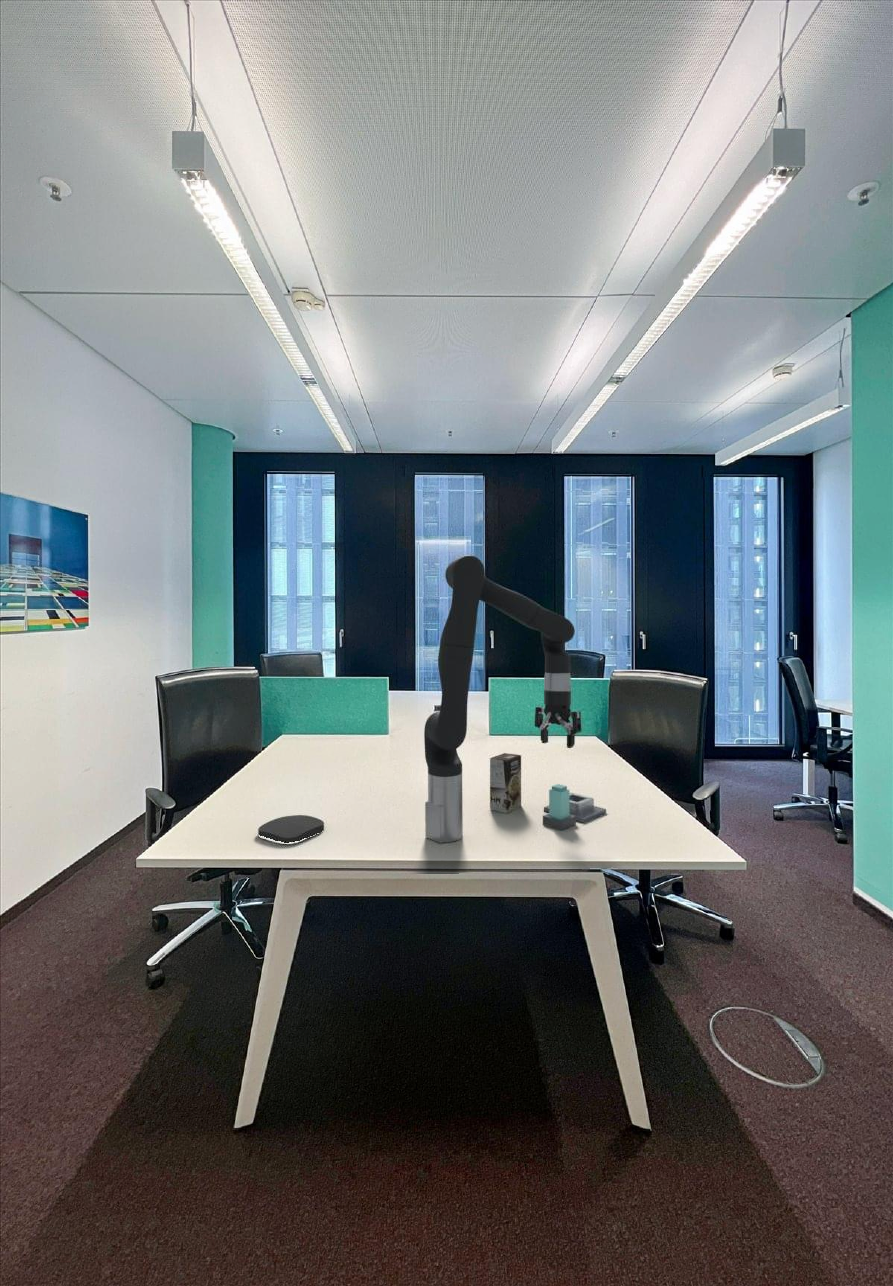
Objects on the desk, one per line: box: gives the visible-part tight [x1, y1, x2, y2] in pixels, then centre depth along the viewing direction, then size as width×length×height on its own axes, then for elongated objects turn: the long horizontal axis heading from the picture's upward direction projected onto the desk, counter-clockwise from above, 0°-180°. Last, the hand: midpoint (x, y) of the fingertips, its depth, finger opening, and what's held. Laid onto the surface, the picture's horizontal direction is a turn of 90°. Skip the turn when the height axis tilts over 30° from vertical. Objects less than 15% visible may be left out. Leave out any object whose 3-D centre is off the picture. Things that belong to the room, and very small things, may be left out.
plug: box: [548, 783, 570, 820], centre depth 152 cm, size 4×4×11 cm
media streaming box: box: [257, 814, 325, 843], centre depth 148 cm, size 15×15×3 cm
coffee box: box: [489, 752, 522, 814], centre depth 167 cm, size 9×6×16 cm
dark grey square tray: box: [542, 813, 577, 832], centre depth 152 cm, size 7×7×2 cm
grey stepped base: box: [543, 792, 607, 824], centre depth 163 cm, size 12×14×4 cm
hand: (557, 745), depth 153 cm, fingers open, 8 cm apart
